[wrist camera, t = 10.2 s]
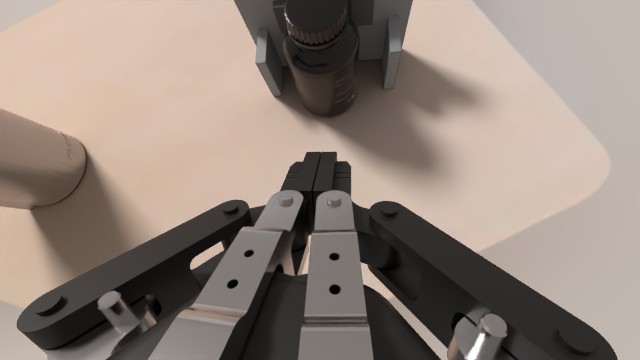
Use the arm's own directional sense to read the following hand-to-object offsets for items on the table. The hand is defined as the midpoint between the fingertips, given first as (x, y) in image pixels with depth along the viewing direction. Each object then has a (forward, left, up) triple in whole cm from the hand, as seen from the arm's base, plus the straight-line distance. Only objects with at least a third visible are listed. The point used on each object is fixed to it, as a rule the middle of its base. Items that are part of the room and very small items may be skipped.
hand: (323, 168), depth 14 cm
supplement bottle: (+7, +12, -15) cm, 20 cm away
